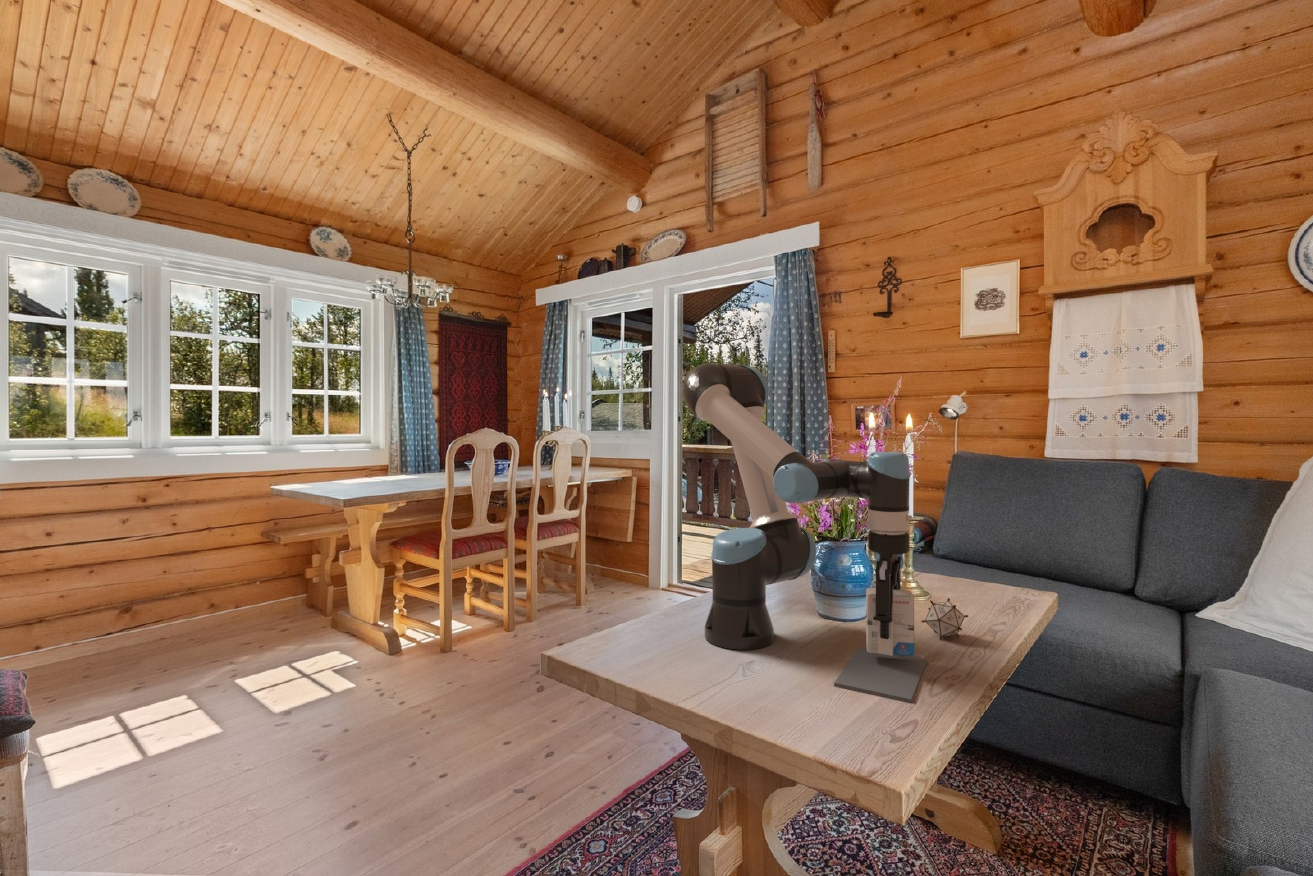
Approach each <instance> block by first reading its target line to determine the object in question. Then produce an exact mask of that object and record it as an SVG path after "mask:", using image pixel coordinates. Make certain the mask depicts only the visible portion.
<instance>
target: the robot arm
mask: <svg viewBox="0 0 1313 876" xmlns="http://www.w3.org/2000/svg"><path fill="white" fill-rule="evenodd" d="M769 391H770V390H769V385H768V382H767V380H766V378H765V376H764V375H763V373H762V372H761V371H760V370H758V369H757V368H755V367H753V366H747V365H745V364H735V365H733V364H722V363H703V364H699V365H697V366H695V367H693V369H691V370H690V371H689V372H688V373H687V374H686V376H685V378H684V380H683V384H682V397H683V398H682V399H683V400H684V403H685V405H686V406H687V408H688V409H689V410H690V411H691V412H692V413H693V414H694V415H695V416H696V417H697V418H698V419H699V420H701V421H703V422H709V423H711V425H713V426H714V427H715V428H716V429H717V430H718V431H719V432H721V434H722V435H723V436H725V437H726V438H727V440H729V441H730V442H731V446H732V449H733V453H734V456H735V457H734V458H735V460H736V463H737V466H738V470H739V474H740V477H741V481H742V484H743V490H744V493H745V497H746V500H747V503H748V507H749V511H750V514H751V518H752V522H751V524H750V526H749V527H741V528H731V529H727V530H724V531H721V532H719V533H718V534H716V536H715V537H714V539H713V541H712V551H711V565H712V567H711V571H712V575H711V577H712V579H711V581H712V590H711V591H712V600H711V601H712V602H711V606H710V608H709V612H708V615H707V618H706V620H705V621H706V622H705V625H704V638H705V640H706V641H707V642H708V643H710V644H712V645H714V646H716V647H720V648H724V649H729V650H730V649H731V650H741V651H742V650H743V651H744V650H755V649H757V650H758V649H761V648H765V647H767V646H769V645H771V644H772V643H773V642H774V639H775V637H774V636H775V634H774V633H775V628H774V625H773V623H772V619H771V615H770V613H769V609H768V607H767V601H766V599H767V598H766V596H767V595H766V590H767V589H766V588H767V587H766V586H769V585H772V584H778V583H782V582H786V581H792V580H796V579H798V578H800V577H803V576H805V575H806V574H808V573H809V572H810V571H811V570H812V569H813V566H814V564H815V562H816V559H817V546H816V542H815V539H814V537H813V535H812V534H811V533H810V532H808V530H807V529H805V528H804V527H802V526H800V523H799V520H798V517H797V516H796V515H795V514H792V513H791V512H790V511H789V509H788V507H787V503H790V504H793V503H798V504H806V503H808V502H814V501H821V500H828V499H829V500H831V499H837V498H845V497H846V498H859V499H868V500H867V501H868V502H867V504H868V509H867V511H868V512H867V528H868V529H869V530H870V531H869V532H868V537H867V538H868V542H867V543H868V549H869V551H870V552H873V553H877V554H879V558H878V560H876V564H875V566H876V567H875V569H874V573H875V589H876V615H875V617H873V620H878V653H879V654H885V655H890V656H893V621H892V605H893V589H894V590H902V588H901V587H902V586H901V585H902V582H901V577H902V576H901V575H902V574H901V567H902V557H901V556H900V555H904V554H908V553H909V551H910V534H909V533H908V531H909V530H910V521H912V520H914V517H913V516H912V515H911V514H910V480H911V479H910V478H911V473H910V461H909V459H910V458H909V456H908V455H907V454H906V453H904V452H899V451H898V452H897V451H896V452H895V451H876V452H875V451H874V452H870V453H869V454H868V457H867V460H866V461H862V460H846V459H840V458H839V459H838V458H837V459H836V458H834V459H833V458H831V459H825V460H822V461H817V462H816V461H815V462H813V461H810V460H809V459H807V458H806V457H805V456H804V455H803V454H801V453H800V452H799V451H798V450H796V449H795V447H793V446H792V445H790V444H789V443H788V442H787V441H786V440H784V439H783V438H782V437H781V436H780V435H778V434H777V433H776V432H775V431H774V430H772V429H771V428H770V427H769V426H768V425H766V424H765V423H764V422H763V420H762V417H763V415H764V413H765V412H766V409H765V406H766V404H767V402H768V396H769ZM909 514H910V515H909ZM802 532H803V533H804V534H803V533H802Z"/></svg>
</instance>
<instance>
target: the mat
mask: <svg viewBox="0 0 1313 876" xmlns="http://www.w3.org/2000/svg"><path fill="white" fill-rule="evenodd" d="M927 663H928V659H927V658H925V657H918V656H915V655H914V656H904V655H893V656H890V655H885V654H879V653H869V652H867V647H864V646H858V648H857V649H856V651H855V652H854V654H853V655H852V656H851V658H850V659H849V661H848V662H847V664H846V665H845V667H844V668H843V669H842V670H841V672H840V673H839V675H838V676H837V678H836V679H835V680H834V682H833V687H838V688H842V689H845V690H846V689H847V690H851V691H856V692H860V693H866V694H869V695H875V696H877V697H878V696H879V697H882V698H888V699H890V700H891V699H892V700H897V701H901V702H906V703H911V704H912V702H913V700H914V697H915V694H916V691H917V689H918V686H919V684H920V681H921V678H922V675H923V673H924V671H925V668H926V665H927Z"/></svg>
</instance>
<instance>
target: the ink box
mask: <svg viewBox="0 0 1313 876" xmlns="http://www.w3.org/2000/svg"><path fill="white" fill-rule="evenodd" d="M865 596H866V597H865V598H866V599H865V620H866V621H865V629H866V630H865V632H866V633H865V636H866V637H865V640H866V642H865V643H866V644H865V645H866V647H865V648H867V652H869V653H878V620H873V617H875V615H876V587H875V588H873V587H870V588H869V587H866V588H865ZM892 621H893V655H904V656H914V657H915V654H916V653H915V651H916V649H915V596H914V594H913V593H912V591H911V590H909V589H901V590H894V589H893V605H892Z"/></svg>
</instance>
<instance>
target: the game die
mask: <svg viewBox="0 0 1313 876" xmlns="http://www.w3.org/2000/svg"><path fill="white" fill-rule="evenodd" d="M929 601H930V602H929V603H930V604H931V606H930V607H928V608H927V609H928V612H927V615H926V617H925V620H924V619H923V620H921V621H920V622H921V623H926V624H927V625H928V626H929V628H931V629H932V630H933V631H934V633H936V634H937V635H938V636H939V640H940V641H942V640H943V637H950V636H956V637H957V638H960V634H959V632H960V631H963V629H962V625H963V622H964V620H965V618H969V615H968V614H965V615H964V613H962V612H961V611H960V610H959V609H958V608H956V607H957V605H956V604H952V603H951V602H950V601H951V599H950V597H948V598H947V600H946V601H941V602H934V601H933V600H929Z"/></svg>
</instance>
